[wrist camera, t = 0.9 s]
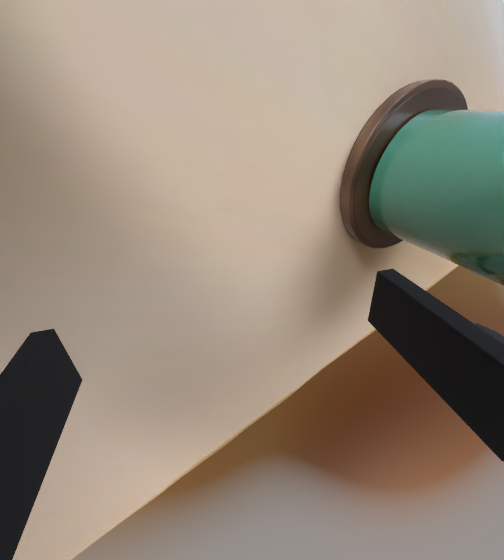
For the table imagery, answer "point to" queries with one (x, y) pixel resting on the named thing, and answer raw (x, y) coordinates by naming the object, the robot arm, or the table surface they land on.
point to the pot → (446, 187)
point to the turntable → (375, 143)
